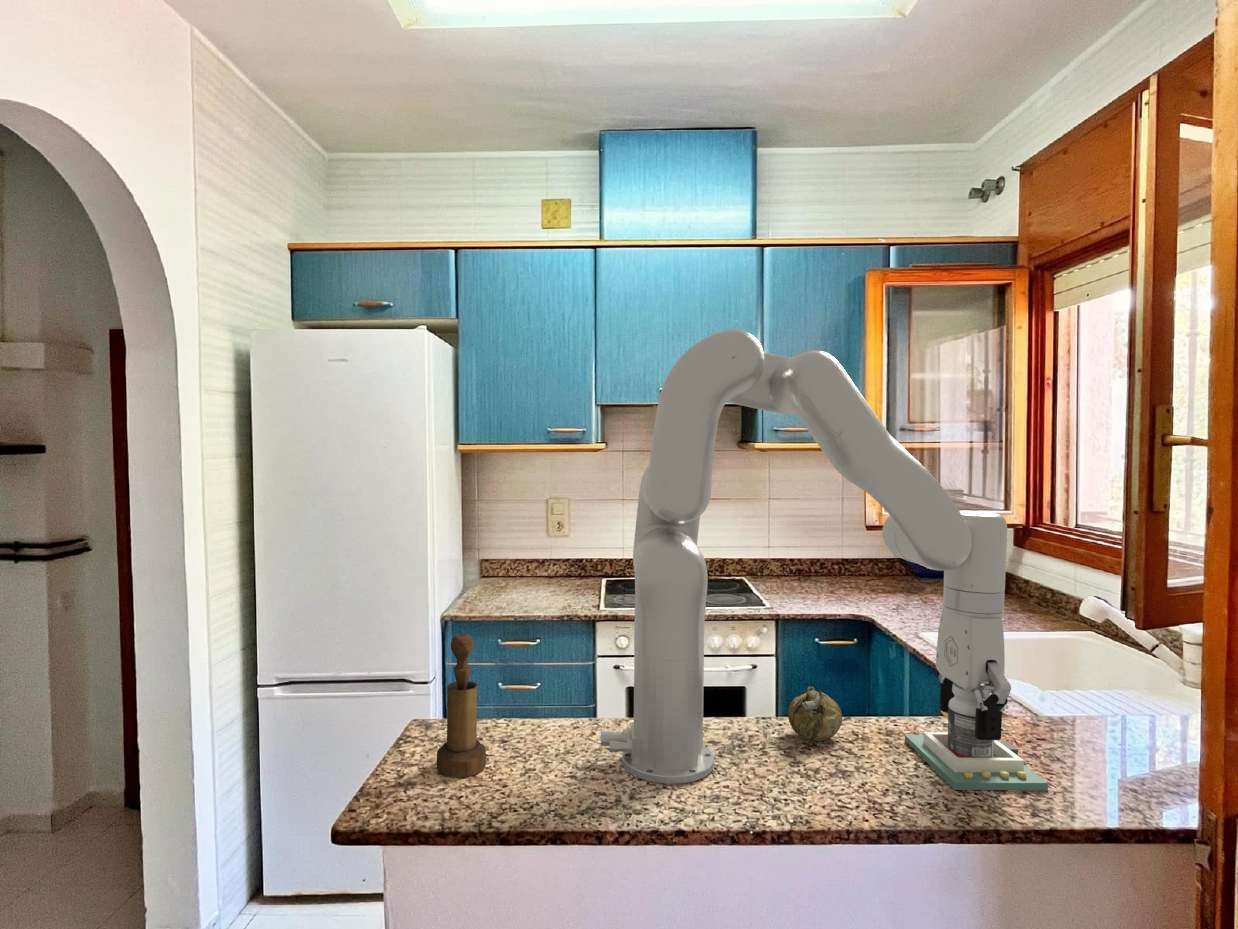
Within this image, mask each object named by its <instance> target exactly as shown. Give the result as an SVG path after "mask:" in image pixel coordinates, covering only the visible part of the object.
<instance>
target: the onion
mask: <svg viewBox="0 0 1238 929" xmlns="http://www.w3.org/2000/svg"><path fill="white" fill-rule="evenodd" d="M788 706H789V708H788V716H787V719H788V722H789V725H790V726H791V729H792V730H793V732H794V733H795V734H796V735H798V737H800V738H803V739H805V741H812V742H823V741H824V742H825V741H827V740H829V739H832V738H833V737H834V736H835V735H836V734H837V733H838V732H839V731H840V729H841V726H842V724H843V714H842V710H841V707H840V706H839V704H838V703H837V702H836V701H835V700H834V699H833V698H831V696H829V695H827V694H826V693H824V692H822V691H821V690H819V691H816V689H815V688H814V687H813V686H808V687H807V691H806V692H805V693H804V694H800V695H799V696H796V697H794V699H793V700H792V701H791V703H790V705H788Z"/></svg>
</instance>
